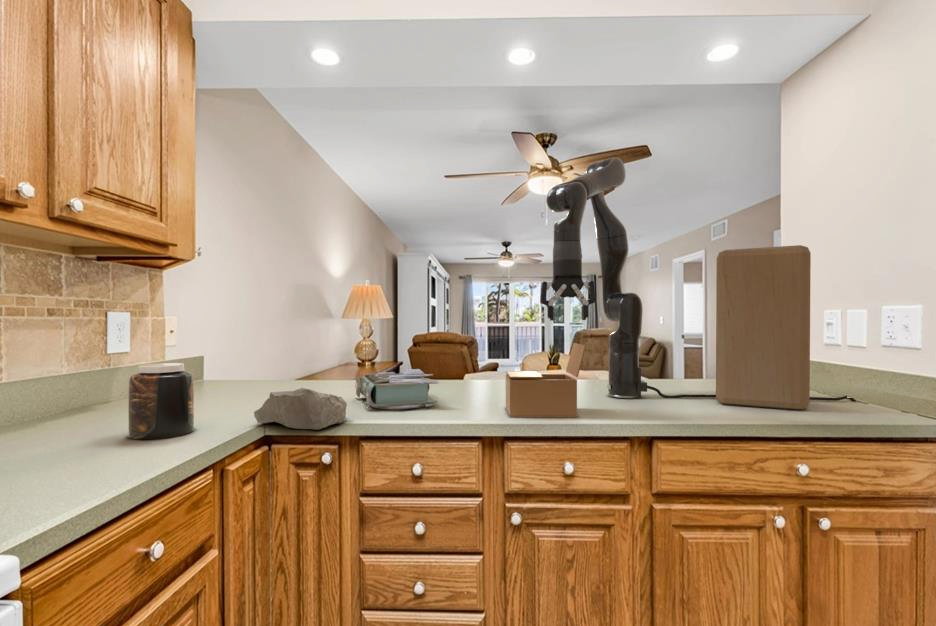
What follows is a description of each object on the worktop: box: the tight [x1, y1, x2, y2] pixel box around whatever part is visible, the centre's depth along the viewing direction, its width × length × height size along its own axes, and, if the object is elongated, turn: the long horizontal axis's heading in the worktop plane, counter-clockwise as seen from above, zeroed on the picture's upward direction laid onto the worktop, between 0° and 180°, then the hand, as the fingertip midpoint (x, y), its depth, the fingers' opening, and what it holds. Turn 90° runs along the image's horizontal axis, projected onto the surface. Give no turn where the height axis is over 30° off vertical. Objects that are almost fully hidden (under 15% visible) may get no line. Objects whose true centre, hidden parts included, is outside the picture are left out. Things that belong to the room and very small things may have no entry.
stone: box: [253, 387, 348, 431], centre depth 115 cm, size 18×10×20 cm
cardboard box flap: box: [565, 342, 587, 378], centre depth 129 cm, size 8×13×1 cm
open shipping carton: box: [505, 370, 578, 418], centre depth 129 cm, size 17×13×10 cm
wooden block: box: [715, 244, 812, 411], centre depth 144 cm, size 22×22×45 cm
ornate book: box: [354, 368, 446, 410], centre depth 144 cm, size 23×10×30 cm
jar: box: [128, 362, 195, 440], centre depth 105 cm, size 12×12×15 cm
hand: (567, 320), depth 129 cm, fingers open, 8 cm apart
